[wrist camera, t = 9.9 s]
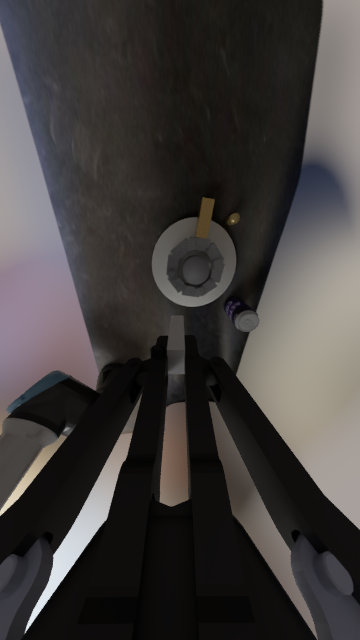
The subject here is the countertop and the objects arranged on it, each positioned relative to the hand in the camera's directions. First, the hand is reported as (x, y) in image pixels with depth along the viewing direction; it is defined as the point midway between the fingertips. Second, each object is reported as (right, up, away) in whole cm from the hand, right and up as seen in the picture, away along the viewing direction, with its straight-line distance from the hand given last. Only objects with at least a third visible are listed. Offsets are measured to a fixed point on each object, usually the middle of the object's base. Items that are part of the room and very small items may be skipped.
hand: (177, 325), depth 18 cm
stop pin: (+12, +24, +17) cm, 32 cm away
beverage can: (+16, +5, +27) cm, 32 cm away
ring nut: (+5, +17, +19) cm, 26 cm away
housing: (+4, +15, +22) cm, 27 cm away
